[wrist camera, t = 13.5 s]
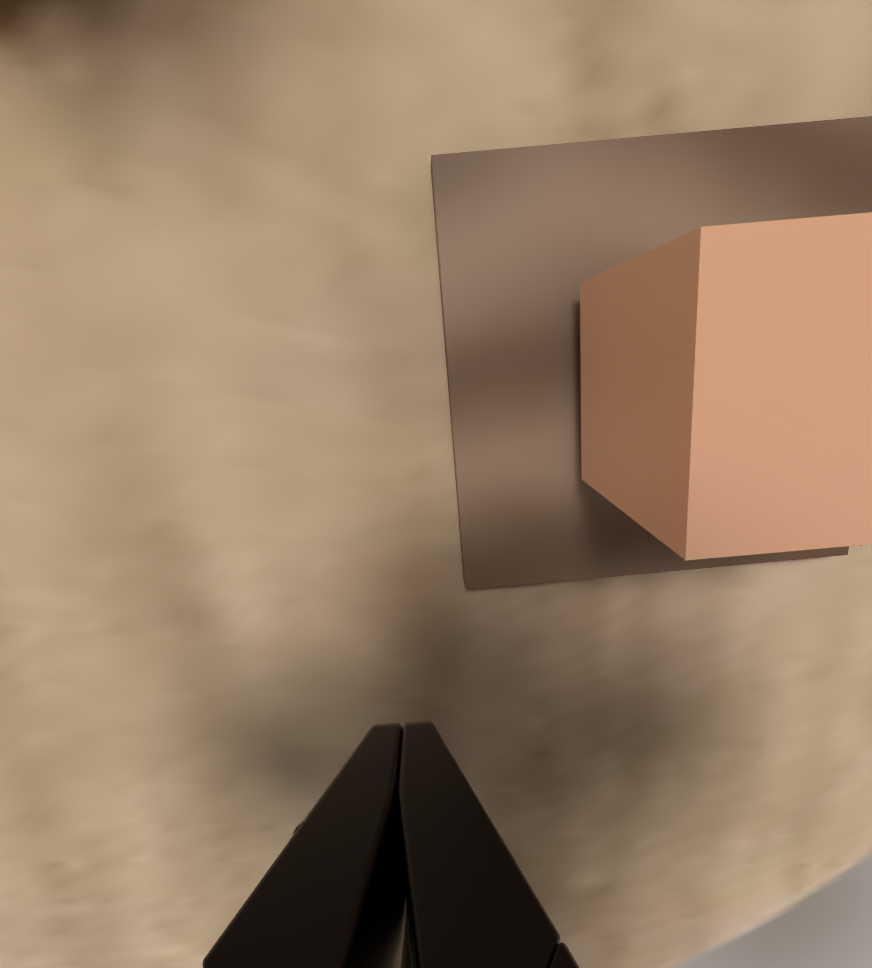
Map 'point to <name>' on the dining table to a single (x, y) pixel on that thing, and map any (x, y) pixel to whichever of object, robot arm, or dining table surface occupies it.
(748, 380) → the salmon pink rectangular prism
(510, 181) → the board
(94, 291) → the dining table surface
